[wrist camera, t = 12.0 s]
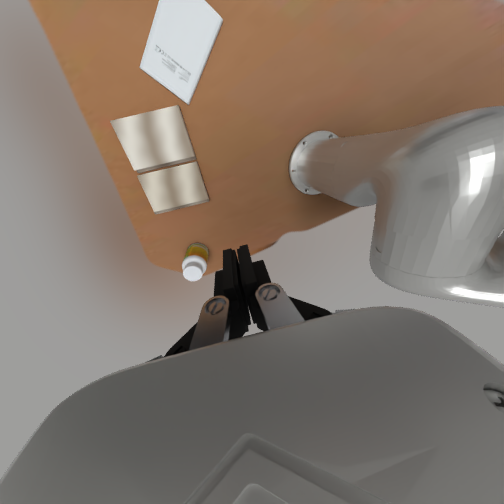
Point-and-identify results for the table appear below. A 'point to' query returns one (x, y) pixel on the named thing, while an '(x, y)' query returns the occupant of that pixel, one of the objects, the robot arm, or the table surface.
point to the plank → (174, 187)
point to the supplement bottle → (195, 261)
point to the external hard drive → (180, 44)
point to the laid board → (155, 139)
